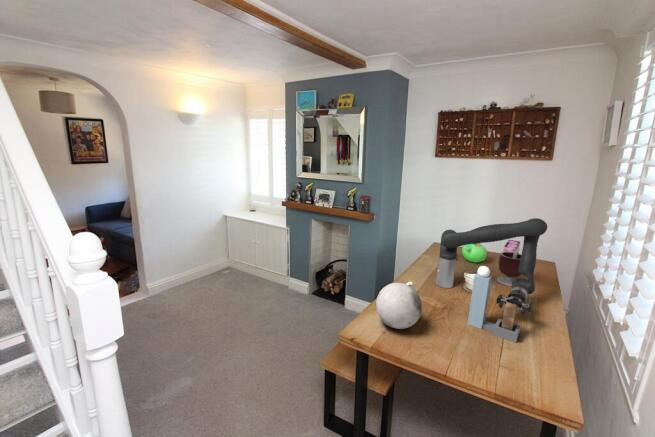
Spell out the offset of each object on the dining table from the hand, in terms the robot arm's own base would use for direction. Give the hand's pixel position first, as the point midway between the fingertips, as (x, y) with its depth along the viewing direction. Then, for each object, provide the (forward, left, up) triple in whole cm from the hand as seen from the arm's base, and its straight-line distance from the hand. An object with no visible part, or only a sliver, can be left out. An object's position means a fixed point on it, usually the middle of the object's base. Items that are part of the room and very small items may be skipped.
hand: (511, 309), depth 143 cm
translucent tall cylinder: (-1, -6, -9) cm, 11 cm away
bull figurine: (-49, +4, -10) cm, 50 cm away
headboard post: (-6, -5, -9) cm, 12 cm away
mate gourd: (+1, +60, -10) cm, 61 cm away
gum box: (+2, +100, -10) cm, 100 cm away
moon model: (-45, -24, -10) cm, 52 cm away
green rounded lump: (-22, +86, -10) cm, 89 cm away
